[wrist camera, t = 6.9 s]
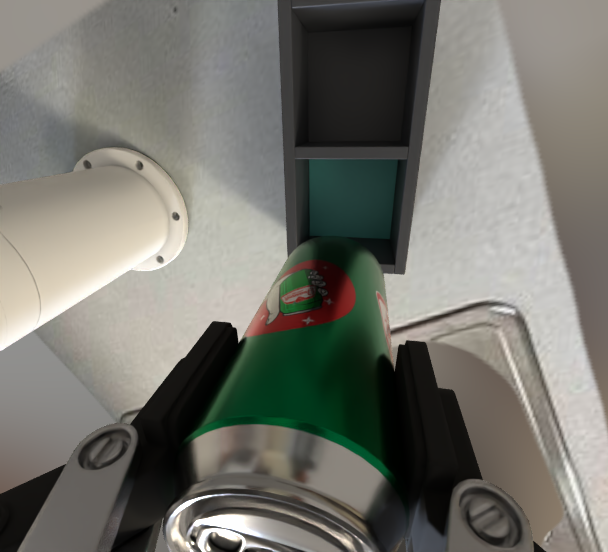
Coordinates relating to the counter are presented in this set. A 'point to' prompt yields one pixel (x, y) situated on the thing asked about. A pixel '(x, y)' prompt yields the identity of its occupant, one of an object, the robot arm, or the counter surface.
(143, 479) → the robot arm
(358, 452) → the soda can
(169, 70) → the counter surface
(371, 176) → the two-compartment grey tray
